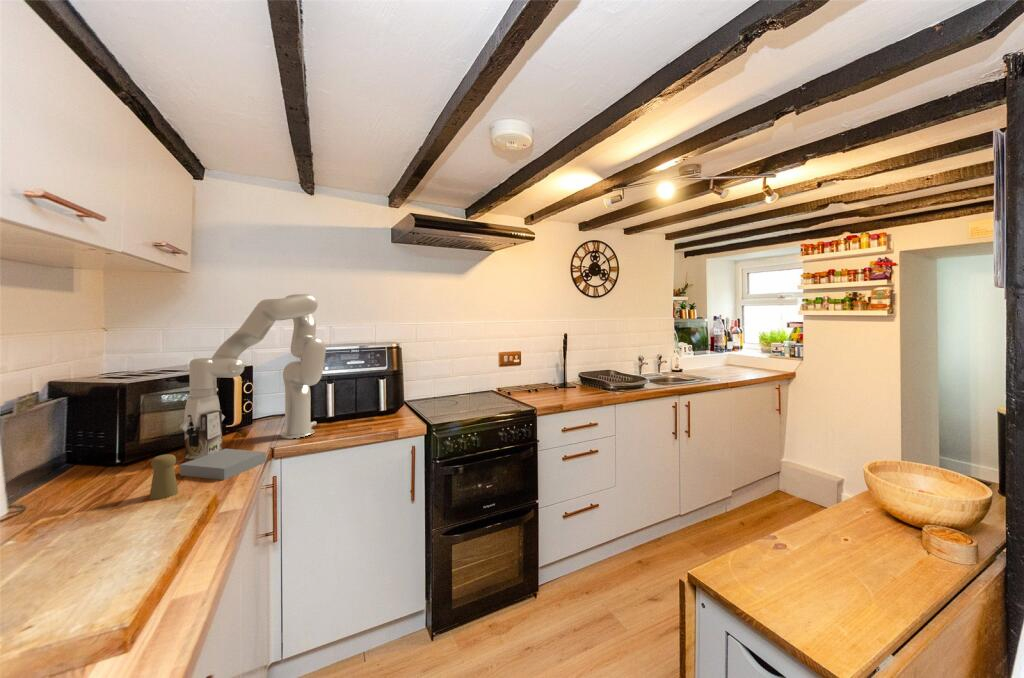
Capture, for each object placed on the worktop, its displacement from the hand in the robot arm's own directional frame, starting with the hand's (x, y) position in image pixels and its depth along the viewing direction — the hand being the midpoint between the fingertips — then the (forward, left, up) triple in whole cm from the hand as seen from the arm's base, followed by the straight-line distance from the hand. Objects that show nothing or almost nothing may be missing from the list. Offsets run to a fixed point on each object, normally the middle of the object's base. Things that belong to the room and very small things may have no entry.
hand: (203, 442), depth 139 cm
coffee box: (0, 0, -5) cm, 5 cm away
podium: (+8, +17, -5) cm, 19 cm away
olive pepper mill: (+28, +18, -5) cm, 34 cm away
